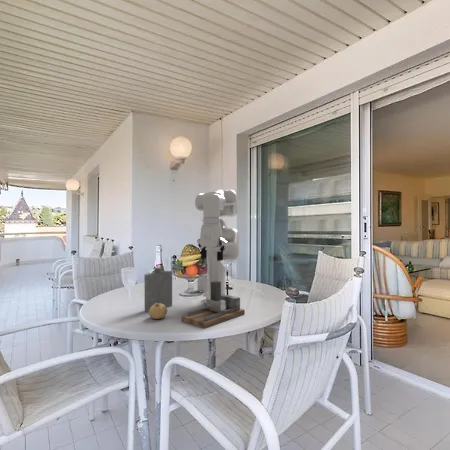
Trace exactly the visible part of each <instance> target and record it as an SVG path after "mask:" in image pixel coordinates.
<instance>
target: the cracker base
mask: <svg viewBox="0 0 450 450" xmlns="http://www.w3.org/2000/svg"><path fill="white" fill-rule="evenodd" d="M221 300H224V301H225V304H226V309H225V311H222V312H216V311H212V310H208V309H206V307H202V308H198V309H195V310H192V311H188V312H187V314H185V315H181V322H184V323H187V324H191V325H194V326H197V327H200V328H203V329H206V328H209V327H212V326H216V325H217V324H220V323H223V322H226V321H229V320H232V319H234V318H237V317H240V316H242V315H245V312H246V311H245V310H246V309H244V308H241V297H239V296H233V295H231V294H226V295H225V294H221Z"/></svg>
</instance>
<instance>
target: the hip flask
mask: <svg viewBox="0 0 450 450" xmlns="http://www.w3.org/2000/svg"><path fill="white" fill-rule="evenodd" d="M153 269H154V272H149V273H146V274H144V312H145V313H149V309H150V308H151V306H152V305H154V304H155V303H162V304H163V305H165V306H166V308H169V307H173V271H172V270H163V269H162V267H159V266H158V267H154V268H153Z"/></svg>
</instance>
